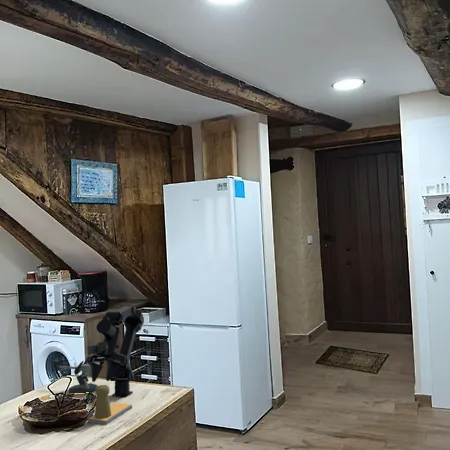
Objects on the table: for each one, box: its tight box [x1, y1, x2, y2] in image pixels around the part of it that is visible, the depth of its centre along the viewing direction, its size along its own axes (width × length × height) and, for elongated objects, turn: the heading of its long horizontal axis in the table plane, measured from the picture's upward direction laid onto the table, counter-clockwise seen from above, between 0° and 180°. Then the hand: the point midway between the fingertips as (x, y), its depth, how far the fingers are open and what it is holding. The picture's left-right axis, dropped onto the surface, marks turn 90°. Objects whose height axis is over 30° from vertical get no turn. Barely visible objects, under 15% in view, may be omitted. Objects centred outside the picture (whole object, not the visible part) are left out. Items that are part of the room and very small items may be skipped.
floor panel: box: [87, 402, 133, 426], centre depth 194 cm, size 17×8×1 cm, turn 158°
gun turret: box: [58, 359, 98, 394], centre depth 225 cm, size 13×20×13 cm, turn 71°
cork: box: [94, 384, 111, 419], centre depth 189 cm, size 6×6×11 cm
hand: (100, 381), depth 197 cm, fingers open, 9 cm apart
